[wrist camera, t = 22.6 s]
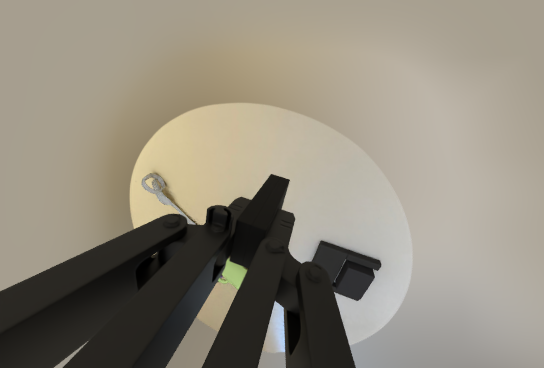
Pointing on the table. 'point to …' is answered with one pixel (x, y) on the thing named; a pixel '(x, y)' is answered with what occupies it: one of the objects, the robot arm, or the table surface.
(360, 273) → the charcoal pad
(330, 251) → the black pad
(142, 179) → the ring
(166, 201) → the fork
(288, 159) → the table surface
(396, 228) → the table surface
